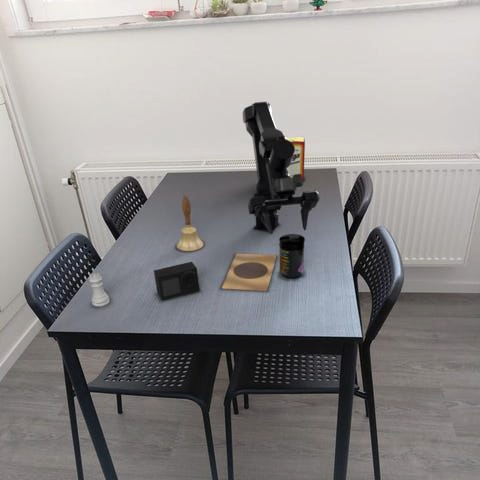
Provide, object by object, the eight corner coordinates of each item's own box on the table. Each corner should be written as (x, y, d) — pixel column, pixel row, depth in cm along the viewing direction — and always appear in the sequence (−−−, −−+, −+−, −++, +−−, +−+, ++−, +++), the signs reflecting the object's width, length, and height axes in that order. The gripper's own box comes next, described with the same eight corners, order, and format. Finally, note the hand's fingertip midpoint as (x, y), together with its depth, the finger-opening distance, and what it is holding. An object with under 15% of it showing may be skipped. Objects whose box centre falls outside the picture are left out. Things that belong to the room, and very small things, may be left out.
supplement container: (298, 282, 128) (299, 246, 122) (275, 277, 130) (274, 242, 125) (307, 271, 133) (308, 236, 127) (285, 266, 135) (285, 232, 130)
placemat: (236, 254, 143) (236, 253, 143) (276, 256, 141) (276, 254, 141) (222, 288, 127) (222, 287, 126) (267, 291, 125) (267, 289, 124)
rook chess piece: (93, 299, 125) (87, 272, 121) (111, 297, 125) (105, 270, 121) (90, 308, 121) (83, 280, 117) (108, 306, 122) (102, 279, 117)
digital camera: (162, 303, 122) (158, 279, 118) (157, 293, 126) (153, 270, 122) (201, 293, 125) (198, 269, 121) (194, 284, 129) (191, 261, 125)
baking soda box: (280, 181, 197) (280, 141, 188) (280, 176, 202) (280, 137, 193) (303, 181, 196) (304, 140, 187) (303, 176, 201) (304, 136, 192)
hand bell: (207, 241, 152) (203, 192, 143) (197, 252, 145) (191, 201, 136) (183, 238, 154) (177, 190, 145) (172, 249, 148) (165, 199, 139)
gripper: (248, 166, 123) (257, 223, 120) (319, 160, 125) (329, 215, 122) (244, 187, 134) (253, 239, 131) (309, 180, 136) (319, 232, 133)
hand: (288, 231), depth 129 cm, fingers open, 9 cm apart
